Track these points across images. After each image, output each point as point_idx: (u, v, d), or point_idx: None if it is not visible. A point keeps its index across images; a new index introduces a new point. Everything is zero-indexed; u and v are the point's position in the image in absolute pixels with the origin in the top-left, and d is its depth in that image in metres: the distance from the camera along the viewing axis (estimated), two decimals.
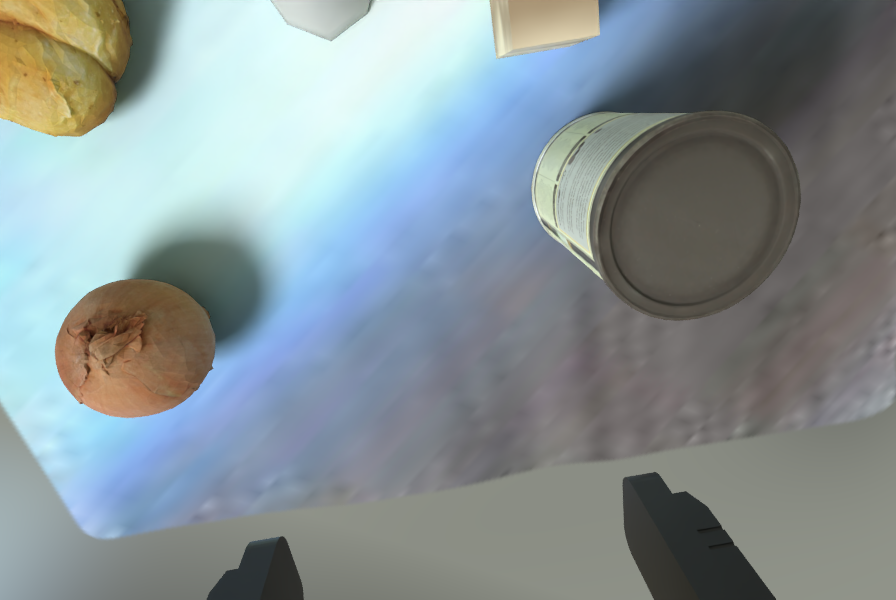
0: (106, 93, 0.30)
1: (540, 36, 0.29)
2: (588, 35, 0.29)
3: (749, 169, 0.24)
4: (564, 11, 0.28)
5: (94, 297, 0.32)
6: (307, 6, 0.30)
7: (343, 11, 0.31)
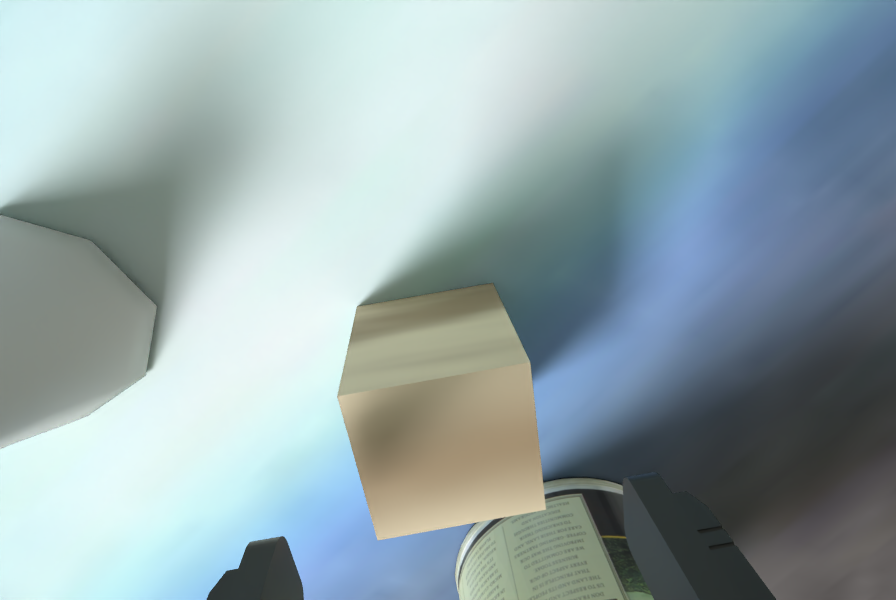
0: None
1: (430, 518, 0.15)
2: (524, 510, 0.15)
3: None
4: (474, 483, 0.14)
5: None
6: None
7: (83, 405, 0.17)
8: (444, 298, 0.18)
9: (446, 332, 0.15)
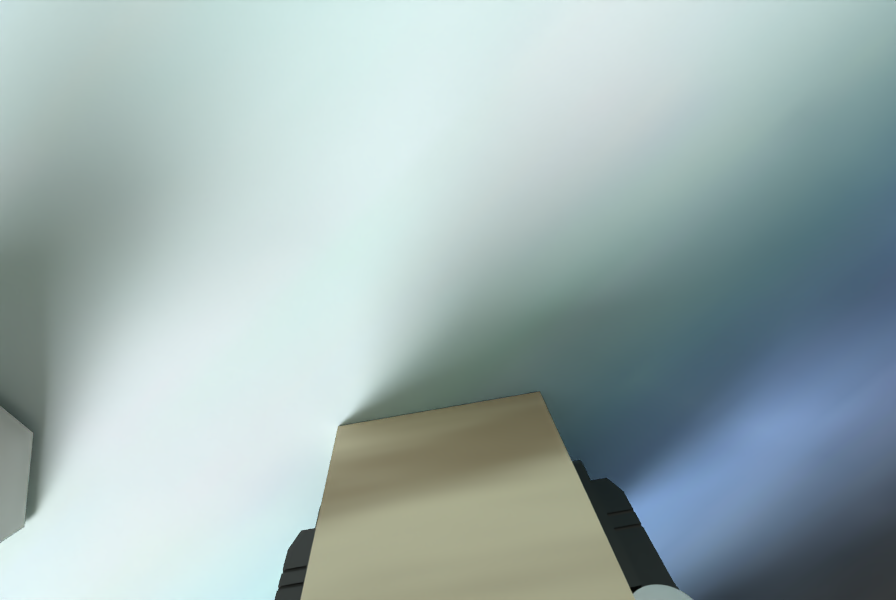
0: None
1: None
2: None
3: None
4: None
5: None
6: None
7: None
8: (469, 421, 0.12)
9: (478, 507, 0.09)
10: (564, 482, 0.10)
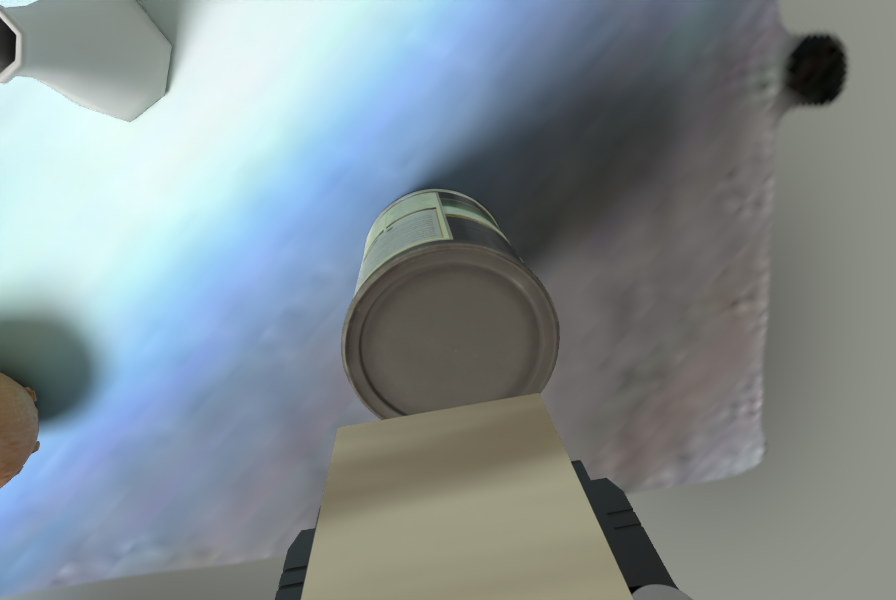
0: None
1: None
2: None
3: (500, 297, 0.23)
4: None
5: None
6: (80, 97, 0.28)
7: (130, 97, 0.30)
8: (468, 423, 0.12)
9: (477, 509, 0.09)
10: (563, 484, 0.10)
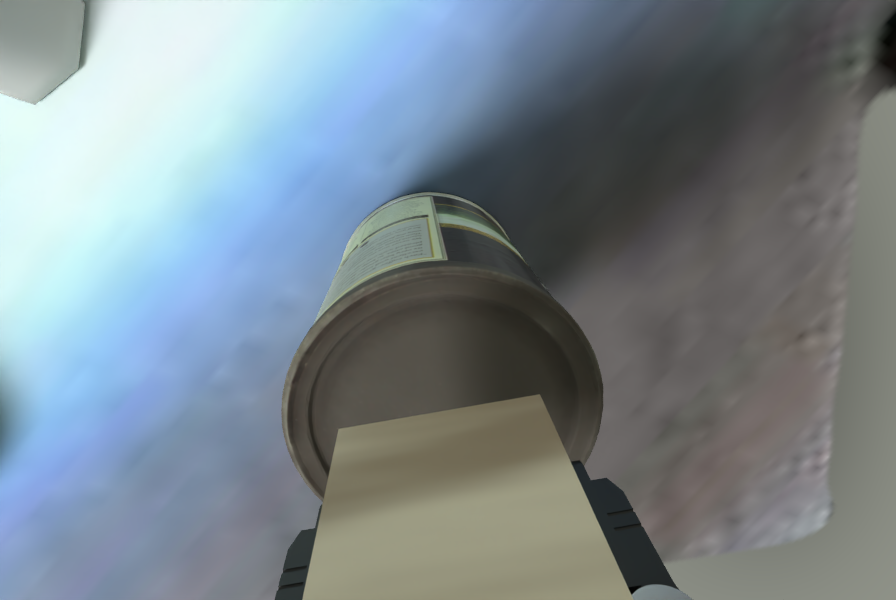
0: None
1: None
2: None
3: (516, 346, 0.16)
4: None
5: None
6: None
7: (26, 69, 0.23)
8: (469, 424, 0.12)
9: (478, 511, 0.09)
10: (564, 485, 0.10)
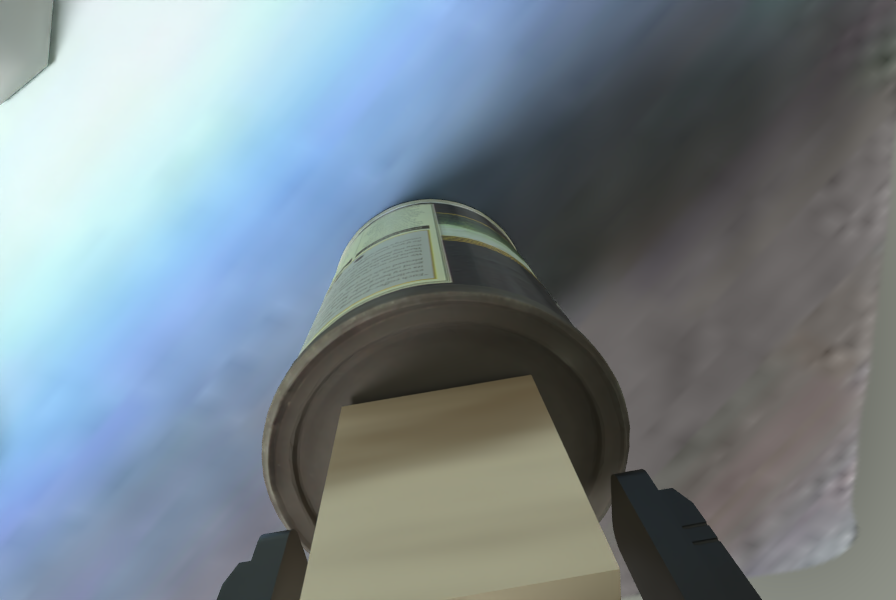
0: None
1: None
2: None
3: None
4: None
5: None
6: None
7: None
8: (464, 401, 0.13)
9: (471, 475, 0.10)
10: (551, 453, 0.10)
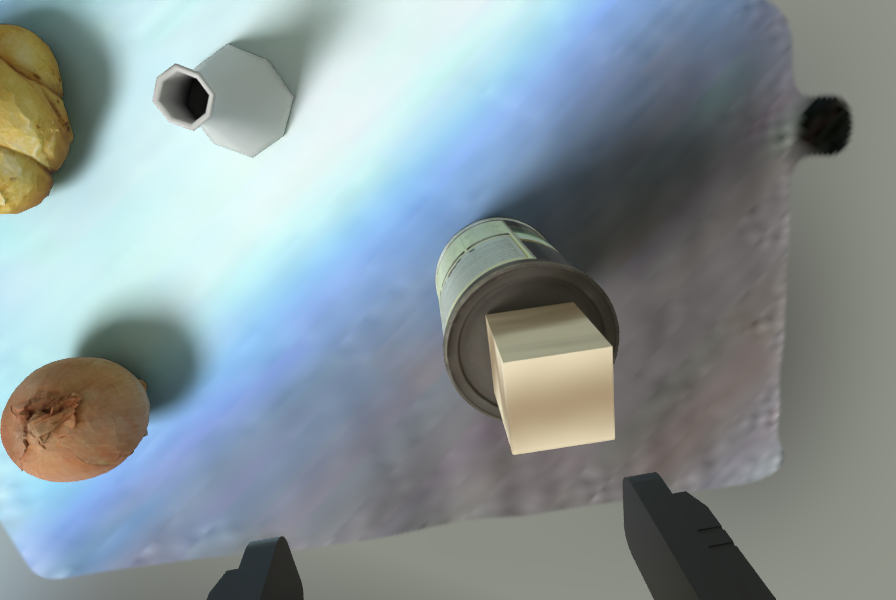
0: (41, 185, 0.35)
1: (545, 442, 0.25)
2: (601, 439, 0.25)
3: None
4: (574, 419, 0.24)
5: (36, 378, 0.37)
6: (224, 138, 0.35)
7: (259, 138, 0.36)
8: (544, 311, 0.28)
9: (554, 330, 0.26)
10: (585, 323, 0.26)
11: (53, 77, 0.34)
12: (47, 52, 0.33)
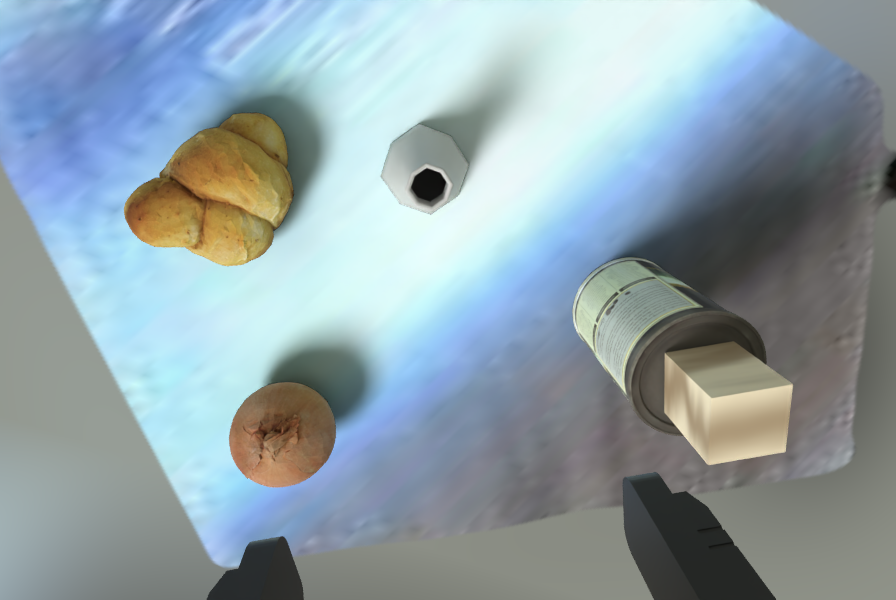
0: (269, 242, 0.42)
1: (733, 454, 0.32)
2: (775, 452, 0.33)
3: None
4: (757, 438, 0.32)
5: (260, 403, 0.45)
6: None
7: None
8: (714, 350, 0.36)
9: (735, 369, 0.33)
10: (757, 362, 0.33)
11: (286, 154, 0.41)
12: (282, 134, 0.40)
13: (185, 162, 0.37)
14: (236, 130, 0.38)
